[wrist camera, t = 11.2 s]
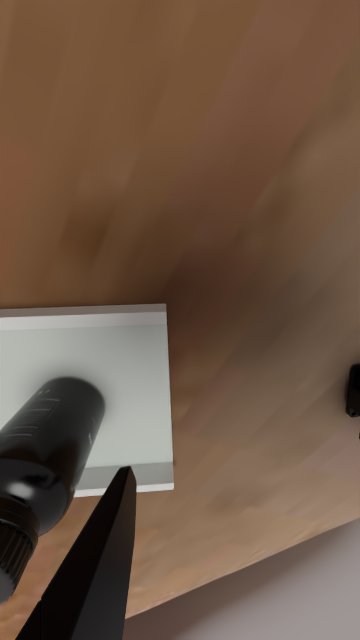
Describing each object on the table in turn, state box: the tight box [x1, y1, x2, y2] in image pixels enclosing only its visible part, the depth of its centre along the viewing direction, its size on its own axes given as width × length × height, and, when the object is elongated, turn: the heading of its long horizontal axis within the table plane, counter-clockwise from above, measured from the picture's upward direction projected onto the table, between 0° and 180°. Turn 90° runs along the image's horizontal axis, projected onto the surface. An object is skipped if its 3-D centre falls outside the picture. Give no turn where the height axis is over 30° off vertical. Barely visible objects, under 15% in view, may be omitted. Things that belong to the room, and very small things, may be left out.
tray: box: [0, 303, 174, 497], centre depth 20 cm, size 21×20×2 cm
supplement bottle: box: [0, 378, 105, 605], centre depth 15 cm, size 7×7×12 cm
